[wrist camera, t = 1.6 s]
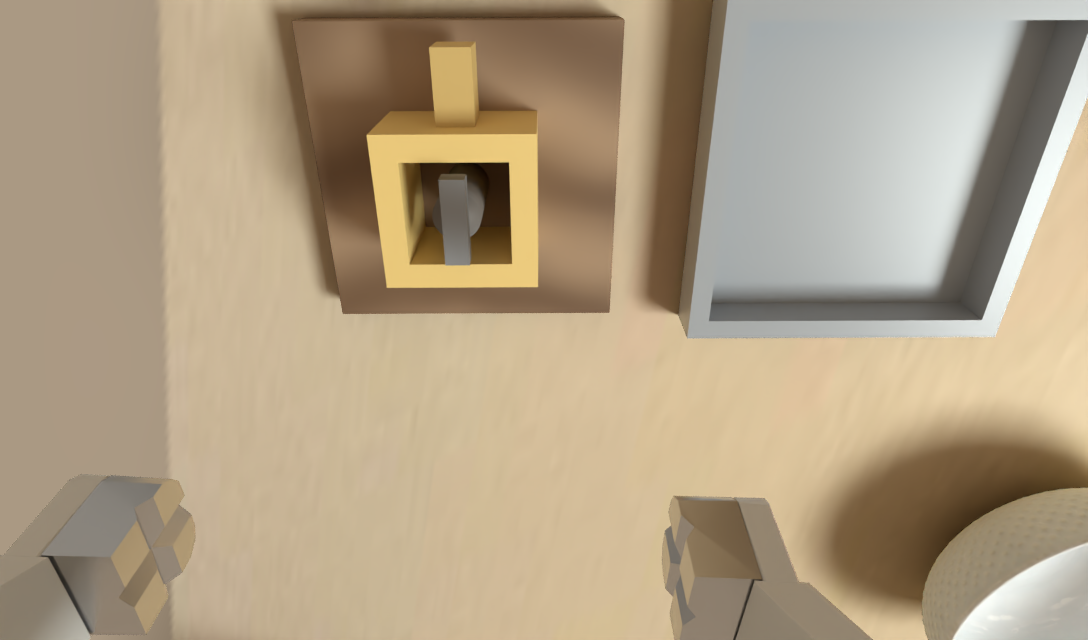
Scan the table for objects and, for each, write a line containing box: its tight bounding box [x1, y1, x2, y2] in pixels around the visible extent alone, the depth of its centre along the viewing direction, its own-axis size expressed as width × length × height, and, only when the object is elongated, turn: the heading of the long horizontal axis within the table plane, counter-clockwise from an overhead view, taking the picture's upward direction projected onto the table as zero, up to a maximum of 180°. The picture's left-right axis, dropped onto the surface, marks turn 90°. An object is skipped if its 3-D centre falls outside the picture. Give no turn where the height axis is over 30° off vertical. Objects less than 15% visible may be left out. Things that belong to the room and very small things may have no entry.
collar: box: [367, 42, 538, 288], centre depth 28 cm, size 10×7×4 cm
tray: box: [678, 0, 1088, 338], centre depth 31 cm, size 16×16×2 cm
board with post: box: [292, 17, 624, 314], centre depth 29 cm, size 14×14×7 cm
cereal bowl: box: [922, 487, 1088, 640], centre depth 42 cm, size 17×17×7 cm
